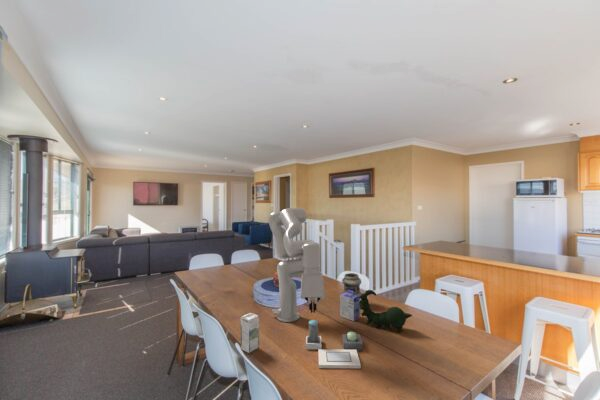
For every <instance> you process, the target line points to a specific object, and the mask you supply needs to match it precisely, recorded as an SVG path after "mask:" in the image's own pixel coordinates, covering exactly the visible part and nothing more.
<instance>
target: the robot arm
mask: <svg viewBox="0 0 600 400" xmlns="http://www.w3.org/2000/svg"><path fill="white" fill-rule="evenodd" d="M307 217H308V215H307V212H306V210H305V209H304V208H302V207H288V208H284V209H282V210H280V211H273V212H271V213H269V216H268V225H269V228H270V231H271V233H272V235H273V237H274V243H275V249H276V255H277V257H278V258H279V259H282V261H280V262H279V263H277V265H276V271H277V272H276V273H277V276H278V290H279V291H278V292H279V308H277V309H271V314H273V315H275V316H276V315H277V316H276V318H277V320H278V321H280V322H283V323H292V322H293V323H294V322H296V321H298V320H299V319H301V318H300V317H301V316H300V313H299V312H298V306H297V305H298V303H297V300H298V299H297V298H298V297H297V284H296V281H294V280H293V278H296V277H297V278H298V277H301V279H300V280H301V281H300V299H302V300H305V301H306V302H307V303H308V306H309V307H308V310H309V311H310V313H311V314H312V313H314V314H315V313H316V311H317V308H318V307H317V304H318V302H319V301H320V300H323V299H325V298H326V296H325V286H324V285H325V284H324V277H323V273H322V272H321V246H320V244H319V243H318V242H317V241H316V242H315V241H314V240H313V239H305V240H303V239H302V240H292V239H293V238H295V237H297V236H299V235H300V234H301V233H302V232H303V229H304V227H303V224H304V223H305V222H306V221H307ZM293 258H294V259H293ZM283 259H285V260H283ZM287 259H288V260H287ZM312 298H313V301H312Z"/></svg>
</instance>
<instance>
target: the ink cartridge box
mask: <svg viewBox="0 0 600 400" xmlns="http://www.w3.org/2000/svg"><path fill="white" fill-rule="evenodd" d="M349 292H352V294H351V293H349ZM342 293H343V292H342ZM342 293H341V294H340V293H339V294H340V295H339V308H340V309H339V311H340V312H339V315H340V317H342V318H344V319H347V320H350V321H352V322H355V321H358V320H361V319H360V318H361V316H360V315H361V312H360V310H361V309H360V307H361V306H360V305H361V303H359V302H360V299H359V296H356V295H353V293H354V291H351V290H348V293H343V294H342Z"/></svg>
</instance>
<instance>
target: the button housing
mask: <svg viewBox="0 0 600 400" xmlns="http://www.w3.org/2000/svg"><path fill="white" fill-rule="evenodd" d="M356 337H357V341H347V333H342V334H341V341H342V342H341V343H342V347H343V349H345V350H357V351H364V345H363V340H362V337H361V335H360V333H359V334H358V333H356Z"/></svg>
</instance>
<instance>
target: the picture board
mask: <svg viewBox="0 0 600 400" xmlns="http://www.w3.org/2000/svg"><path fill="white" fill-rule="evenodd" d="M317 353H318V355H317V356H318V369H362V365H361V361H360V358H359V355H358V350H345V349H344V348H343V349H334V348H333V349H332V348H331V349H329V348H327V349H323V348H322V349H318V352H317Z"/></svg>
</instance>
